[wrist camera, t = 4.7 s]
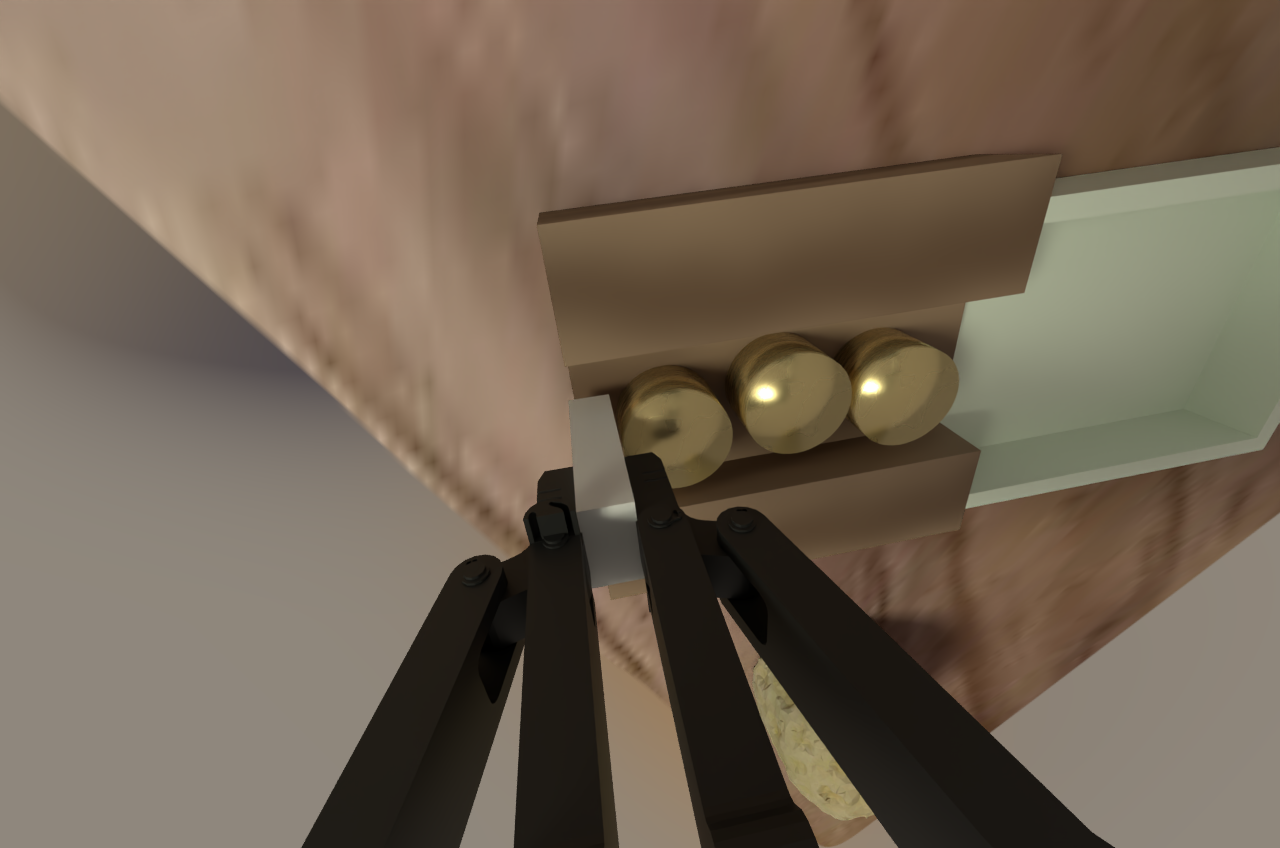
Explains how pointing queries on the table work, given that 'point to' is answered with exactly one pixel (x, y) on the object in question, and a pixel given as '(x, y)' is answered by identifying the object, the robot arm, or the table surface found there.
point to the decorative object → (804, 751)
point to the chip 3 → (897, 385)
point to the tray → (1130, 331)
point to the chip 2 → (787, 392)
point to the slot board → (800, 318)
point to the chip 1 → (675, 423)
